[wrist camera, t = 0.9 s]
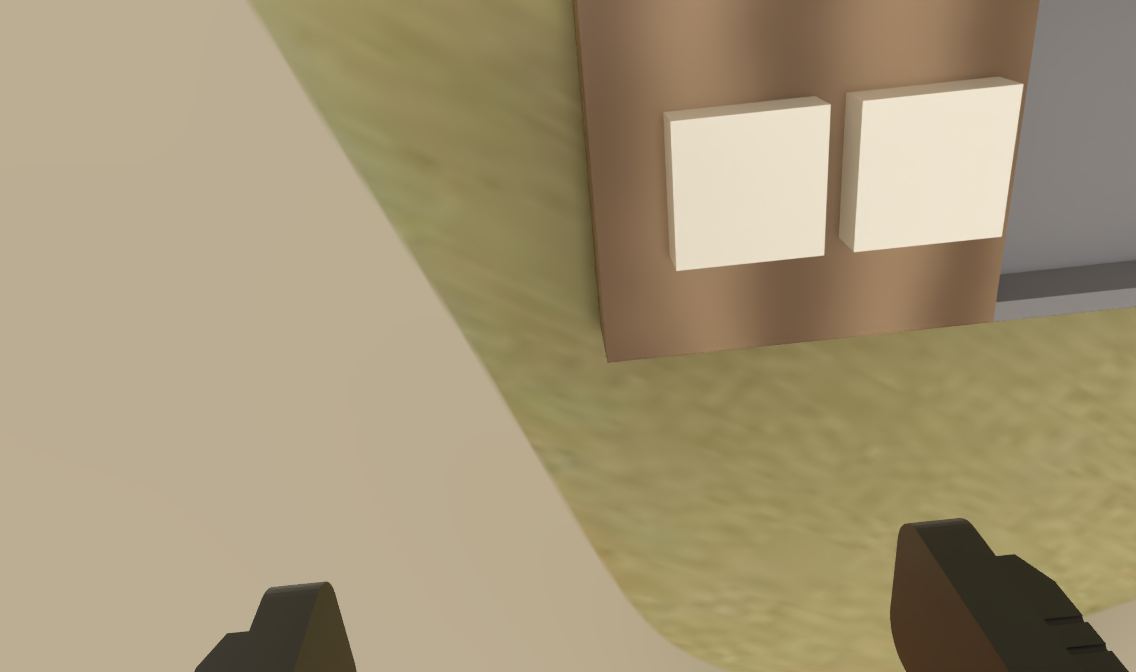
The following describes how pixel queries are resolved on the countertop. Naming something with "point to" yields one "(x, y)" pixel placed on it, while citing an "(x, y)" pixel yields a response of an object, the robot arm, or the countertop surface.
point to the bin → (1075, 167)
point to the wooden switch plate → (828, 70)
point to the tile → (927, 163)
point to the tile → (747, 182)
